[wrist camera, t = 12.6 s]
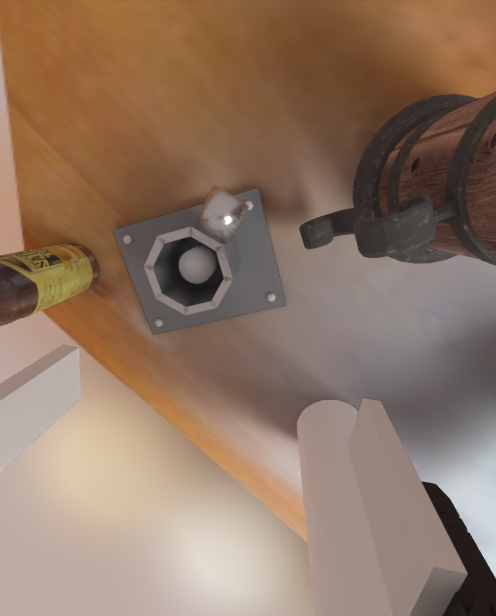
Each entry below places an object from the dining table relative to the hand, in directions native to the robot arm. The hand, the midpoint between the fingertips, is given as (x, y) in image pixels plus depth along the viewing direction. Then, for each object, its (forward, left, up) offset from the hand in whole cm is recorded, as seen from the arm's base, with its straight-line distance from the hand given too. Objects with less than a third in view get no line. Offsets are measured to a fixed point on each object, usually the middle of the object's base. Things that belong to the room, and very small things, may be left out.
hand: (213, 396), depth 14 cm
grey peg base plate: (+6, -2, -25) cm, 26 cm away
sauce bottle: (+22, -6, -25) cm, 34 cm away
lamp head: (+3, -5, -24) cm, 25 cm away
